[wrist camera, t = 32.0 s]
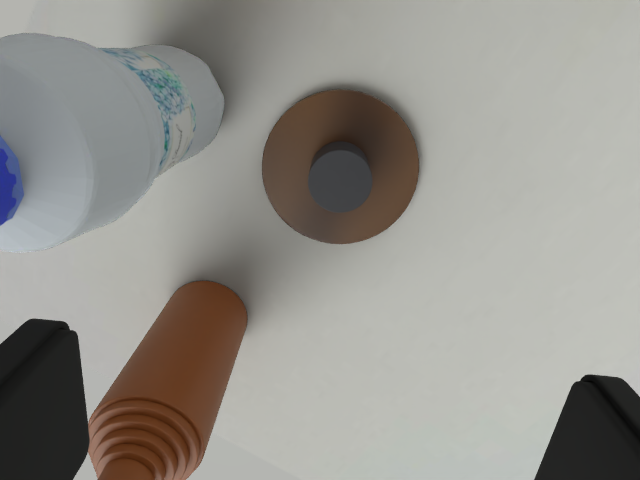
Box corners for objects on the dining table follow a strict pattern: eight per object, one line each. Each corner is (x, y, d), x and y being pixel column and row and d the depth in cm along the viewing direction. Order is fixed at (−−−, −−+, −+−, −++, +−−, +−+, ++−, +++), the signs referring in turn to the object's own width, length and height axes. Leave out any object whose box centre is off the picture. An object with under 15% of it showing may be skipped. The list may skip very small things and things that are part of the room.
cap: (375, 147, 28) (379, 157, 26) (362, 203, 30) (364, 218, 27) (316, 135, 28) (314, 144, 26) (305, 192, 30) (302, 206, 27)
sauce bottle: (170, 345, 35) (29, 593, 19) (166, 276, 33) (1, 492, 17) (246, 352, 35) (170, 605, 19) (248, 284, 33) (162, 507, 17)
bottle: (191, 175, 30) (-45, 373, 12) (105, 102, 28) (-325, 198, 10) (256, 98, 28) (96, 189, 10) (167, 15, 26) (-229, -68, 8)
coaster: (259, 232, 31) (258, 236, 31) (267, 80, 28) (266, 81, 27) (403, 248, 31) (404, 251, 31) (431, 98, 28) (433, 99, 27)
